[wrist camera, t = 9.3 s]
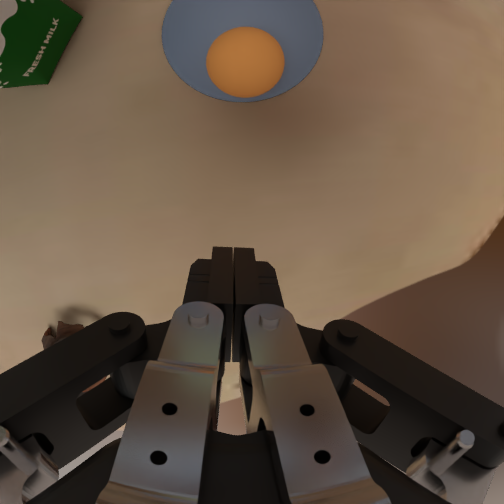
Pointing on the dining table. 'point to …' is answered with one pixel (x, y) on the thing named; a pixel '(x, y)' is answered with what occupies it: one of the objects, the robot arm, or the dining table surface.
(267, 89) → the ball
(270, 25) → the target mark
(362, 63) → the dining table surface
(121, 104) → the dining table surface
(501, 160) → the dining table surface
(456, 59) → the dining table surface
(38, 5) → the milk carton
